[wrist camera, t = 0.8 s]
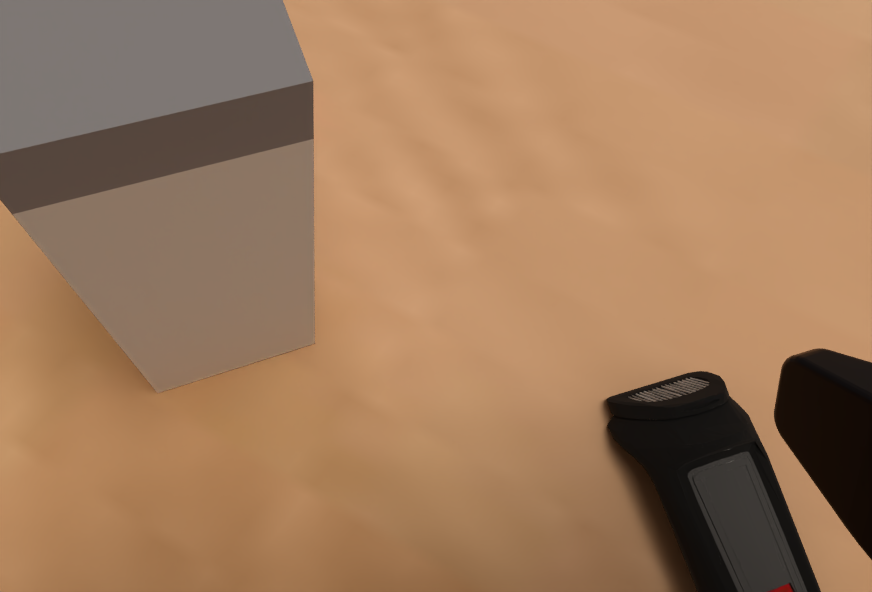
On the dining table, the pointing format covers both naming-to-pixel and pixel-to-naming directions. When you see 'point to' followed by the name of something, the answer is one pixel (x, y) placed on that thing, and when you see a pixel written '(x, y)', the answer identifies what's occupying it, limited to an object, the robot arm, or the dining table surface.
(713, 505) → the electric trimmer
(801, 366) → the robot arm
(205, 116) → the grey rectangular block
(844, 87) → the dining table surface
